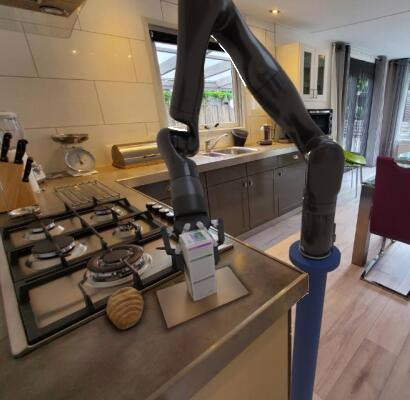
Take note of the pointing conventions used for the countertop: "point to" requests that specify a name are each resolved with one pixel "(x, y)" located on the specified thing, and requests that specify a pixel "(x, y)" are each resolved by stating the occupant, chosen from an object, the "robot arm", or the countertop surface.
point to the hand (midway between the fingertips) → (200, 268)
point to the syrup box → (198, 263)
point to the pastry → (125, 307)
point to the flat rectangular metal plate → (187, 308)
